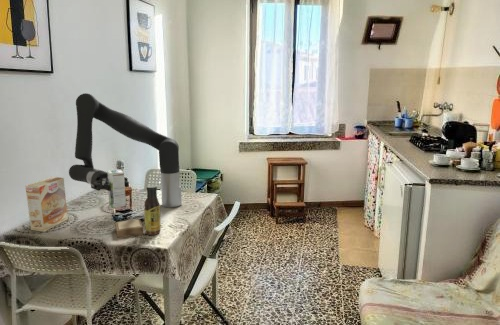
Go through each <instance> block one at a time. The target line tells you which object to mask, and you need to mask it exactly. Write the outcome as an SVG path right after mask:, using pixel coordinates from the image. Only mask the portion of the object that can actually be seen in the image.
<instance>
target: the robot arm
mask: <svg viewBox="0 0 500 325" xmlns="http://www.w3.org/2000/svg"><path fill="white" fill-rule="evenodd" d="M75 106H76V116H77V117H76V118H77V119H76V120H77V121H76V123H77V126H76V139H75V148H74V150H75V151H74V157H75V159H77V160H81V161H82V162H83V164H73V165H71V166H70V168H69V170H68V175H69V177H70V178H71V179H72V180H74V181H77V182H83V183H86V184H89V185H90V188H91V189H92V190H96V191H98V192H99V191H107V192H108V191H111V186H110V185H108V174H107V172H106V171H104V170H100V169H97V168H94V162H93V156H92V155H93V154H92V153H93V119H96V120H98V121H100V122H102V123H104V124H105V125H107V126H109V127H110V128H111V129H112V130H115V131H116V132H117V133H119V134H121V135H123V136H125V137H126V138H129V140H130V139H131V140H133V141H135V142H136V141H137V142H138V143H143V144H146V145H149V146H150V147H152V148H154V149H156V150H158V157H159V158H158V160H159V168H160V188H161V191H160V192H161V206H162V207H163V208H176V207H179V206H182V205H183V204H182V203H183V202H182V186H181V178H180V176H181V175H180V174H181V173H180V160H179V159H180V156H179V152H180V151H179V150H180V148H179V144H178V142H177V141H176V140H175V139H173V138H171V137H168V136H166V135H164V134H161V133H159V132H158V131H155V130H153V129H152V128H150V127H149V126H147V124H144V123H142V122H140V121H139V120H137V119H135V118H133V117H131V116H130V115H129V114H125V113H123V112H119V111H117V110H114V109H111V108H110V107H108V106H106V105H105V104H103V103H102V102H100V101H99V100H98V99H97V98H96V97H95V96H94V95H92V94H90V93H87V92H86V93H82V94H81V93H80V94H79V95H78V96H77V98H76V101H75ZM124 182H125V188H129V186H130V183H129V181H128V177H125V176H124Z"/></svg>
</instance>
